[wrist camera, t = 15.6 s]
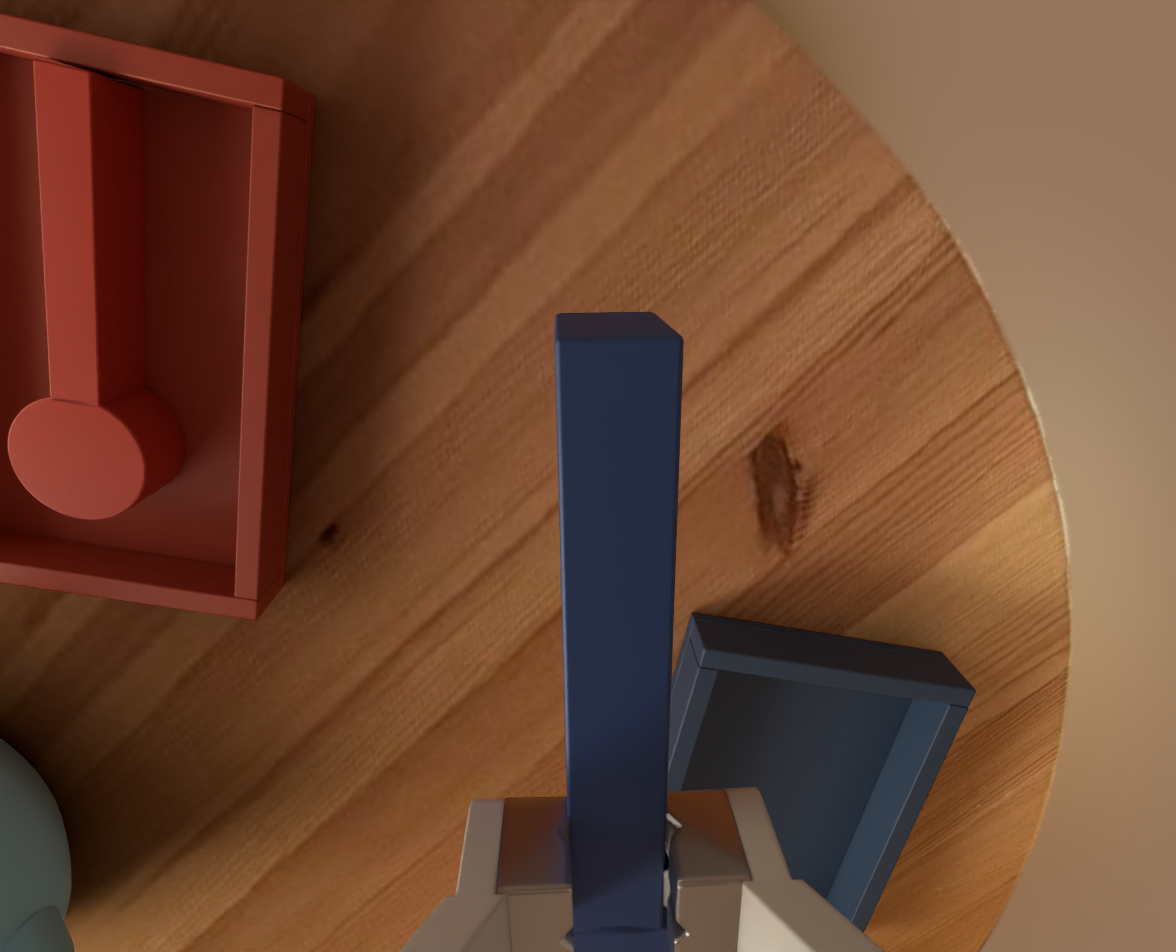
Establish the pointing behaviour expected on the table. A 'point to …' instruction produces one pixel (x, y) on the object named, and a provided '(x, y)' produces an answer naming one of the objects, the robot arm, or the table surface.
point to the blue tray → (817, 742)
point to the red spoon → (93, 307)
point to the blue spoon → (618, 613)
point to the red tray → (172, 325)
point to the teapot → (31, 861)
